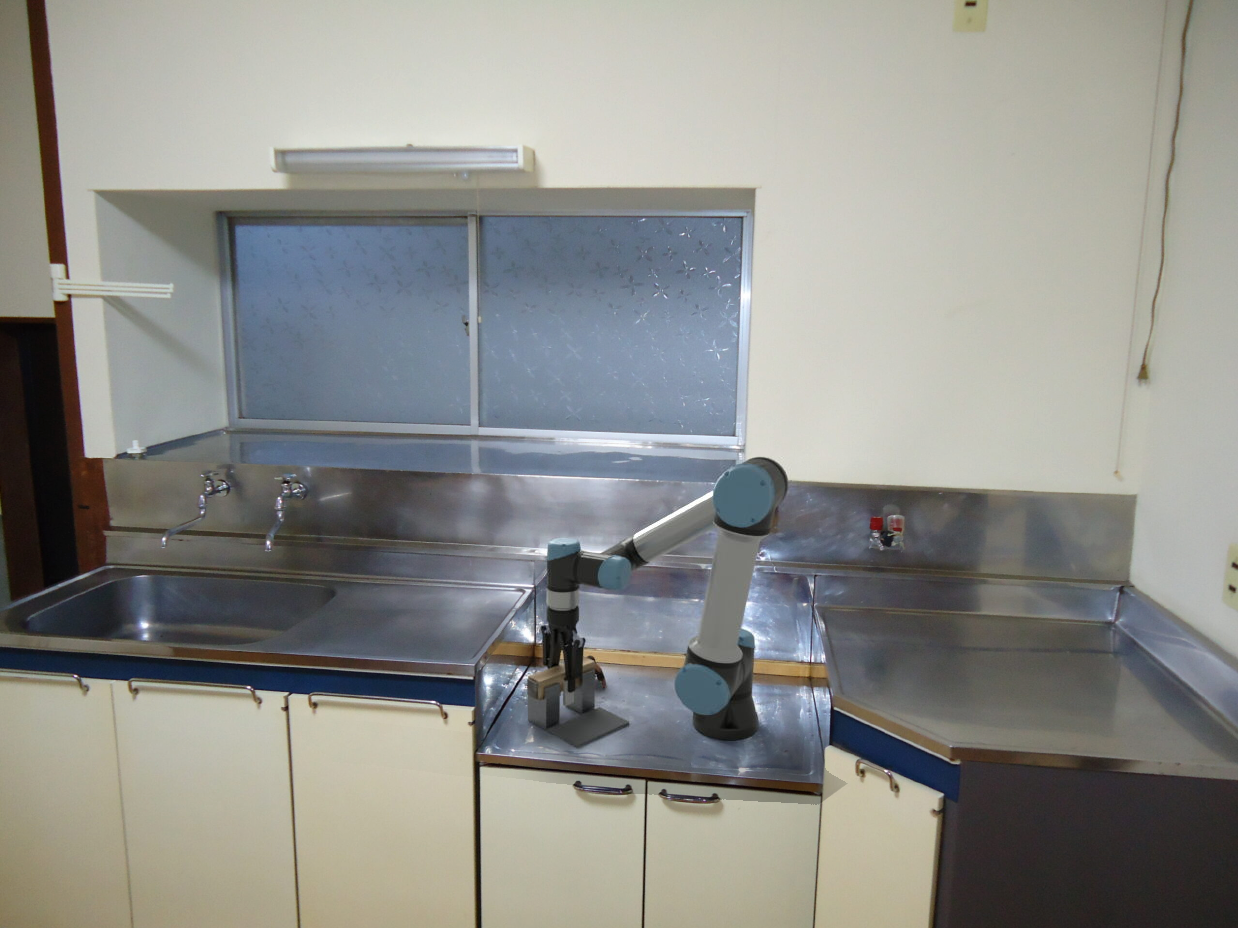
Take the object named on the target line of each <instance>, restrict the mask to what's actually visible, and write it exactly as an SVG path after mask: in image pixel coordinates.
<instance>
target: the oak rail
mask: <svg viewBox="0 0 1238 928" xmlns="http://www.w3.org/2000/svg"><path fill="white" fill-rule="evenodd" d="M586 657H587V656H584V655H583V673H584V672H587V671H589V670H592V669H594V670H595V661H596V660H595V661H593V660H591V659H589V658H586ZM565 677H566V674H565V666H564V662H563V663H561V664H559V665H558V666H555V667H552V668H550V669H548V668H547V669H544V670H542V671H539V672H536V673H533V674H530V675H528V676H527V679H526V693H527V696H528V695H529V696H531V697H533V698H535V699H537V700H539V701H540V700H542V699H544V687H547V686H550V685H552V684H555V683H557V682H558V683H560V692H561V693H563V679H564V678H565ZM578 685H580V678H577V679H576V681H575V686H578Z"/></svg>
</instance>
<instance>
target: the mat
mask: <svg viewBox="0 0 1238 928" xmlns="http://www.w3.org/2000/svg"><path fill="white" fill-rule="evenodd" d="M629 725H630V721H628V720H627V719H624V718H622V717H620V716H618V715H616V714H614V713H612V712H610V711H609V710H607V709H605V708H603V707H601V706H598V707H596V708H595V709H593V710H591V711H589V712H586V713H584V714H579V715H577V716H575V717H572V718H570V719H567V720H565V721H563V722H561V723H560V724H558V725H556V726H553V727H551V728H549V729H548V730H547V732H549V733H550V734H552V735H554V736H555V737H557V738H560V739H561V740H563V741H564V742H566V743H568V744H569V745H571V746H572V747H575V748H576V749H579V748H580V747H582V746H585V745H588V744H589V743H592V742H593V741H596V740H598V739H600V738H603V737H605V736H607V735H609V734H611V733H613V732H616V731H618V730H620V729H622V728H624V727H626V726H629Z"/></svg>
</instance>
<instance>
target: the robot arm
mask: <svg viewBox="0 0 1238 928" xmlns="http://www.w3.org/2000/svg"><path fill="white" fill-rule="evenodd" d="M788 490H789V478H788V474H787V473H786V470H785V469H784V468H783V466H782V465H781V464H780V463H778V462H777V461H776V460H774V459H772V458H769V457H765V456H756V457H752V458H749V459H746V460H745V461H743V462H742V463H738V464H735V465H732V466H730V468H728V469H726V470H725V471H724V472H723V473H722V474H721V475H720V476H719V478H718V479H717V481H716V483H715V485H714V487H713V490H711V491H709V492H708V493H706V494H704V495H701V496H700V497H699V498H697V499H695V500H693V501H691V502H690V503H688V504H686V505H684V506H683V507H681V508H679V509H677V510H675V511H674V512H671V513H670V514H668V515H666V516H665V517H663V518H661V519H659V520H658V521H656V522H653V523H652V524H650V525H649V526H646V527H644V528H643V529H641V530H639V531H638V532H636V533H635V534H633V535H630V536H629V537H627V538H624V539H623V540H621V541H619V542H618V543H616V544H614V545H613V546H611V547H608V548H607V549H606V550H604V551H601V552H592V551H591V552H590V551H586V550H582V549H581V542H580V541H579V540H578V539H575V538H572V537H558V538H554V539H552V540H550V541H549V542H548V544H547V551H546V555H547V556H546V558H545V559H546V604H547V606H546V622H547V623H545V624H542V625H541V626H540V630H541V639H542V640H541V641H542V642H541V643H542V647H541V648H542V664H543V666H544V667H547V669H550V668H552V667H555V666H558V665H560V662H561V656H563V663H564V666H565V674H566V677H565V678H564V679H563V692H560V697H561V696H562V705H563V706H565V707H567V706H566V705H569V704H571V703H574V691H575V681H576V679H577V678H580V677H582V673H583V656H584V647H585V645H586V640H587V639H586V637H580V636H579V634H578V630H577V624H578V622H579V621H580V606H579V604H580V585H583V586H586V587H587V586H589V587H593V588H598V589H604V590H608V591H623V590H625V589H626V588H627V586H628V584H629V582H630V581H631V576H632V573H633V572H635V571H637V570H639V569H640V568H642V567H644V566H646V565H648V564H650V563H651V562H653V561H655V560H657V559H659V558H661V557H662V556H664V555H666V554H668V553H670V552H672V551H674V550H675V549H677V548H680V547H681V546H684V545H685V544H687V543H689V542H691V541H694V540H695V539H696V538H699V537H701V536H702V535H705V534H707V533H708V532H710V531H712V530H714V529H715V528H716V529H717V531H718V533H717V538H716V544H715V548H714V554H713V557H712V563H711V568H710V573H709V577H708V581H707V587H706V590H705V591H706V592H705V597H704V601H703V606H702V610H701V616H700V621H699V624H698V625H699V626H698V630H697V631H698V632H697V635H695V636H693V637H691V638H690V639H689V641H688V645H687V648H686V653H685V657H684V663H683V666H682V667H681V668H679V669H678V671H677V674H676V676H675V678H674V690H675V693H676V697H678V699H679V700H680V701H681V704H682V705H683V706H684V707H685V708H687V709H688V710H690V711H691V712H692V721H691V722H692V725H693V727H694V728H695V730H697V731H698V732H699V733H701V734H703V735H705V736H707V737H709V738H710V737H711V738H714V739H718V740H725V741H726V740H727V741H737V740H743V739H747V738H750V737H752V736H753V735H755V734H756V733H757V732H758V728H759V715H758V712H757V710H756V706H755V701H754V697H753V685H754V684H753V683H754V668H755V667H754V666H755V661H754V660H755V650H756V645H755V643H756V641H755V636H754V634H753V633H752V632H751V631H749V630H747V629H744V628H742V625H743V619H744V616H745V611H746V607H747V602H748V597H749V592H750V589H751V583H752V579H753V576H754V571H755V570H754V569H755V566H756V562H757V556H758V553H759V548H760V543H761V541H762V540H763V539H765V538H766V537H769V536H770V533H771V529H772V524H773V520H774V517H775V516H774V515H775V511H776V508H778V506H780V505H781V504H782V502H783V501H785V498H786V496H787V494H788V492H789V491H788Z"/></svg>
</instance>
